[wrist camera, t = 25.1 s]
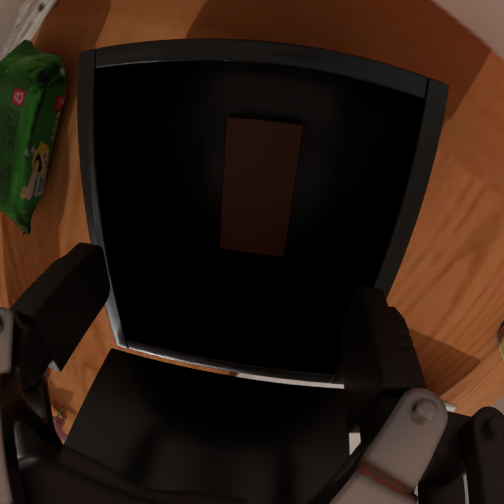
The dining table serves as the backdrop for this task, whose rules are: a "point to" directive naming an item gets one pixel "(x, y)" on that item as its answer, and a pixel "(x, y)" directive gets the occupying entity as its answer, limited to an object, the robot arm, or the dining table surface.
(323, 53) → the waste bin
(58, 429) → the lily
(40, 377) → the robot arm
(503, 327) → the sauce bottle
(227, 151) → the chocolate bar
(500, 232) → the dining table surface
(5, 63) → the snack package
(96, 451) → the bin lid
